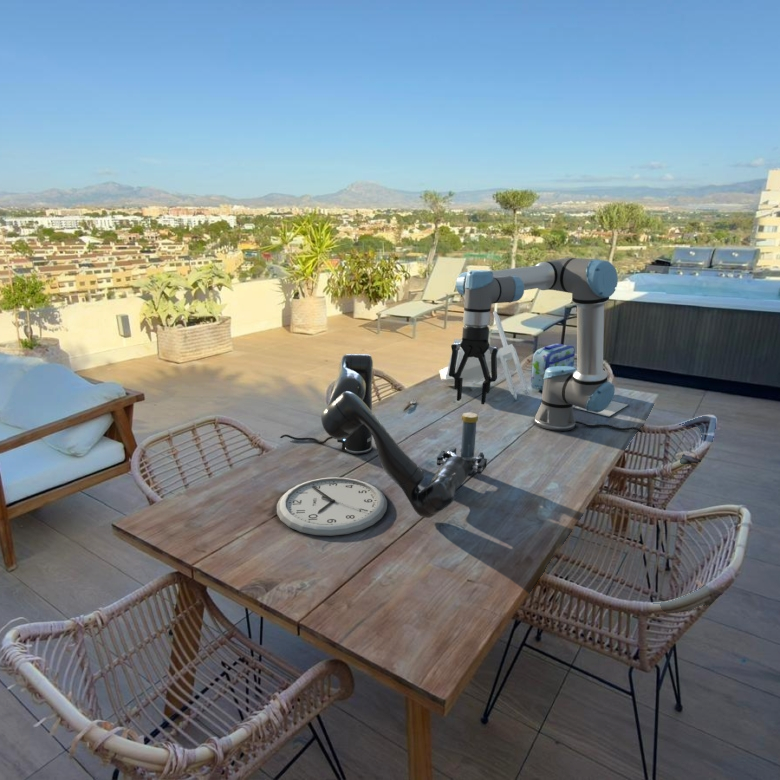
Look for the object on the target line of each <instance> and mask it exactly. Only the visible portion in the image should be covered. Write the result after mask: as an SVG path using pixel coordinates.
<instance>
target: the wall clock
mask: <svg viewBox="0 0 780 780" xmlns="http://www.w3.org/2000/svg"><path fill="white" fill-rule="evenodd" d="M387 509H388V500H387V498H386V496H385V494H384V493H383V492H382V491H381V490H380V489H379V488H377V487H376V486H374V485H372V484H371V483H369V482H365V481H362V480H359V479H355V478H349V477H338V476H337V477H335V476H333V477H332V476H331V477H322V478H317V479H312V480H307V481H305V482H302V483H299V484H297V485H295V486H293V487H292V488H290V489H288V490H287V491H286V492H285V493H284V494H283V495H281V496H280V498H279V499H278V502H277V503H276V515H277V517H278V518H279V520H280V521H281V522H282V523H283V524H285V525H286V526H287V527H288V528H290V529H293V530H295V531H297V532H299V533H303V534H308V535H312V536H327V537H328V536H329V537H331V536H332V537H333V536H342V535H350V534H352V533H356V532H361V531H363V530H366V529H368V528H369V527H372V526H373V525H375V524H376V523H378V522H379V521H380V520H381V519H382V518H383V517H384V516H385V514H386V512H387Z"/></svg>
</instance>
